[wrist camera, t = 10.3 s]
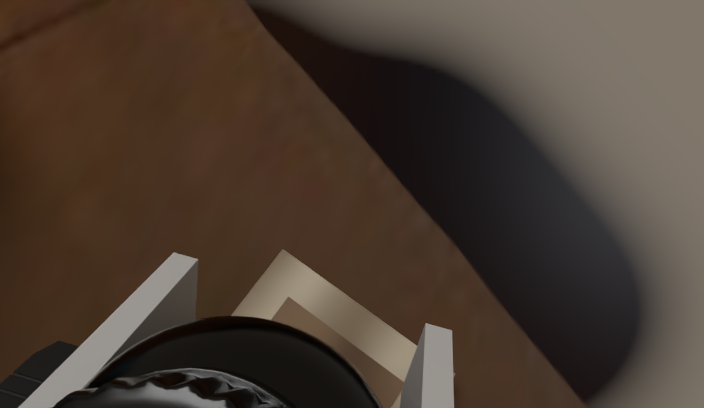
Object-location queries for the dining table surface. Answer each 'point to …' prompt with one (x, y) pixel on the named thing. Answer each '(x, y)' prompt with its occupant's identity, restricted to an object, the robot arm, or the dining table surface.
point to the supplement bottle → (227, 370)
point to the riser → (332, 323)
